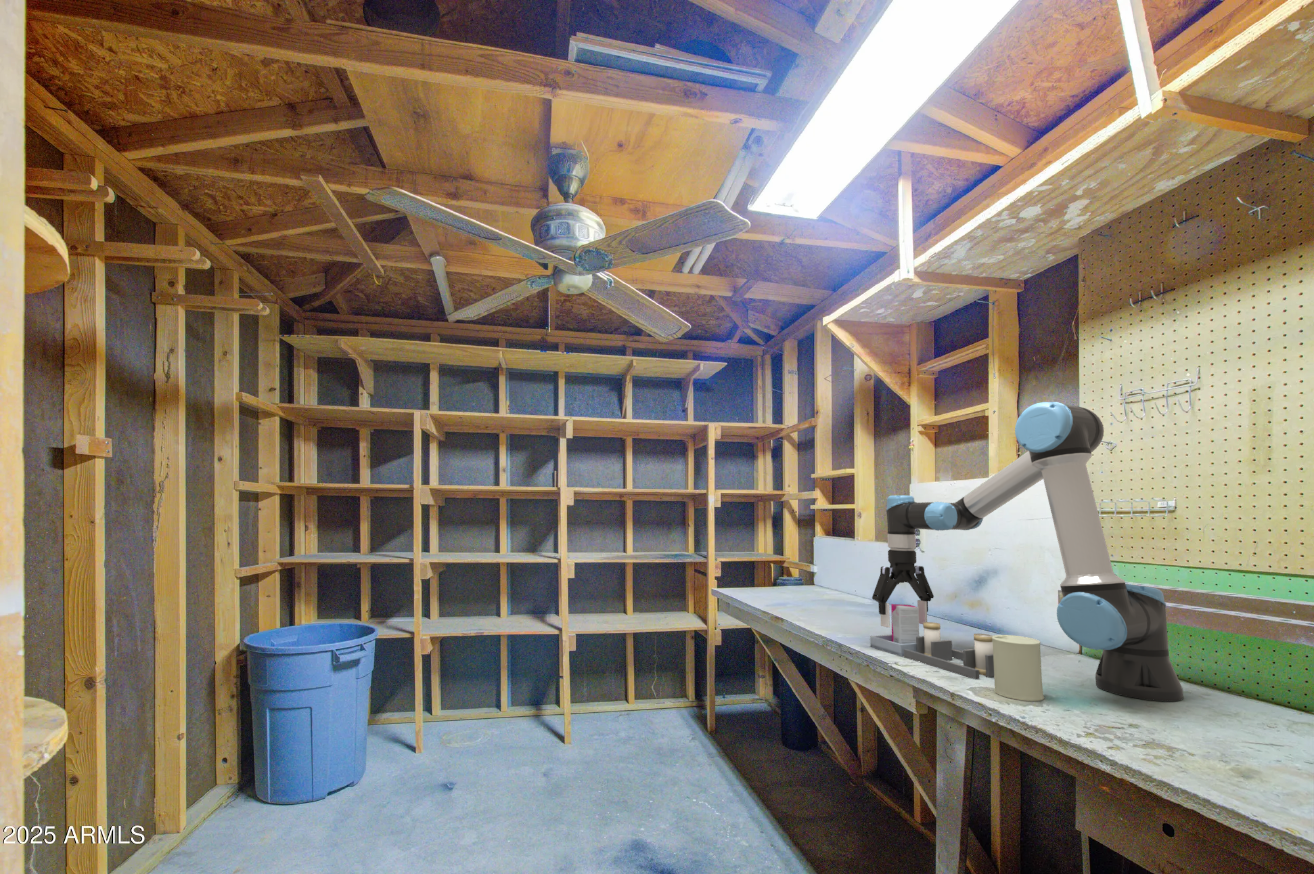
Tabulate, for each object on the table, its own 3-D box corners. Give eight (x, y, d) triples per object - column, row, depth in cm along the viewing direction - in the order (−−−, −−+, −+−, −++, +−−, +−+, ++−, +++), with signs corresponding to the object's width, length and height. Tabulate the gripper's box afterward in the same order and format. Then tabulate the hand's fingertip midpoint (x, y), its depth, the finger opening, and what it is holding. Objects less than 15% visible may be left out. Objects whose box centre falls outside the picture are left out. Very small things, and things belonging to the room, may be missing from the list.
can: (996, 685, 136) (993, 630, 137) (1045, 693, 131) (1041, 636, 132) (991, 695, 129) (988, 637, 130) (1042, 704, 123) (1039, 643, 125)
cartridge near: (999, 674, 145) (997, 636, 146) (986, 676, 144) (984, 637, 145) (983, 670, 149) (982, 632, 150) (971, 671, 148) (969, 633, 149)
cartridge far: (945, 659, 160) (943, 624, 161) (933, 660, 159) (931, 625, 160) (932, 655, 164) (931, 621, 165) (920, 656, 162) (919, 622, 163)
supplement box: (920, 649, 168) (919, 607, 169) (899, 649, 168) (898, 606, 169) (911, 644, 173) (910, 603, 175) (891, 644, 173) (889, 603, 175)
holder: (1017, 674, 146) (1016, 652, 147) (975, 679, 141) (974, 657, 142) (942, 653, 167) (941, 634, 167) (904, 657, 162) (903, 637, 162)
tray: (940, 652, 167) (940, 641, 168) (901, 656, 162) (901, 644, 163) (908, 643, 179) (908, 633, 179) (870, 646, 173) (870, 636, 174)
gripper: (925, 548, 182) (927, 620, 179) (858, 548, 173) (859, 625, 170) (945, 549, 175) (948, 625, 172) (876, 550, 166) (878, 630, 163)
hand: (904, 625), depth 171 cm, fingers open, 13 cm apart
